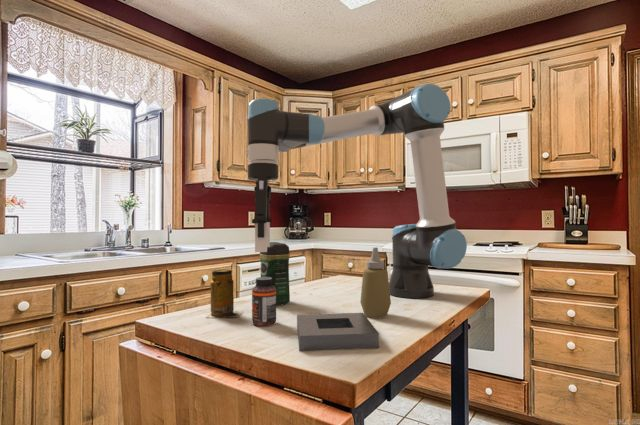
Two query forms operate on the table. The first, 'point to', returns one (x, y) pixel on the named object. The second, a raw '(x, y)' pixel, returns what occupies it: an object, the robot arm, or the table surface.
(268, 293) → the supplement bottle
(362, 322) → the socket block
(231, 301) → the condiment
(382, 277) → the squeeze bottle
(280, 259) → the coffee jar
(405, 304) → the table surface
